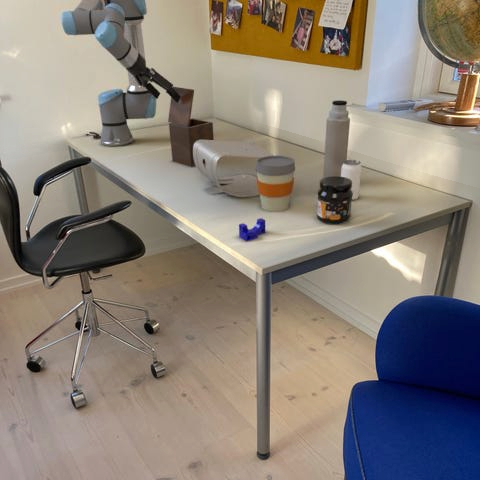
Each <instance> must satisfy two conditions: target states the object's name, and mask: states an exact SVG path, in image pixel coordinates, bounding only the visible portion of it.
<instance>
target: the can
mask: <svg viewBox="0 0 480 480" xmlns="http://www.w3.org/2000/svg"><path fill="white" fill-rule="evenodd" d="M361 175H362V165H361V161H359V160H356V159H347V160H346V161H344V162H343V165H342V168H341V177H345V178H348V179H350V180H351V181H352V188H351V190H352V191H353V196H352V201H355V200H357V199H358V198H359V195H360V187H361V177H362V176H361Z"/></svg>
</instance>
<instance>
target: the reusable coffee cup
mask: <svg viewBox="0 0 480 480" xmlns="http://www.w3.org/2000/svg"><path fill="white" fill-rule="evenodd" d="M295 163H296V162H295V159H294V158H292V157H290V156H285V155H279V156H276V155H275V156H266V157H262V158H257V160H256V163H255V165H256V166H255V172H256V174H257V175H256V177H257V185H258V192H259V194H260V195H259V198H260V206H261V208H262V209H263V210H265V211H268V212H282V211H286V210H287V209H288V208H289V206H290V200H291V194H292V193H293V189H294V182H295V178H294V173H295V171H296V164H295Z"/></svg>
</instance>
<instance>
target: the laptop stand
mask: <svg viewBox="0 0 480 480" xmlns="http://www.w3.org/2000/svg"><path fill="white" fill-rule="evenodd" d="M250 140H251V142H250V141H237V140H236V141H233V140H216V139H214V140H198V141H196V142H195V143H194V146H193V158H194V162H195V165H196V166H195V168H196V169H197V170H198V172H199V173H200V174H201V175H203V176H204V177H205V178H206V179H207V180H209V181H210V182H211V183H213V184H214V185H215V186H210V187H207V188H206V191H208V192H209V193H210V194H212V195H219V194H225V193H226V194H227V195H229V196H231V197H237V198H253V197H258V196H259V197H260V194H259V192H258V185H257V177H258V176H255V175H252V174H247V173H246V174H238V175H237V174H236V175H230V176H224V177H220V176H219V177H218V162H219V160H220V159H221V158H223V157H230V158H231V157H234V158H251V159H259V158H262V157H266V156H280V153H279V152H278V151H277V152H276V154H275V155H274V154H273V153H271V152H269V151H267V150H265V149H264V148H261V147H260V146H258V145H256V144H255V140H254V139H250ZM203 159H205V162H206V163H205V165H204V163H203Z"/></svg>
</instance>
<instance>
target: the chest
mask: <svg viewBox="0 0 480 480" xmlns="http://www.w3.org/2000/svg"><path fill="white" fill-rule="evenodd" d="M168 129H169V139H170V150H171V160H172V161H171V162H174V163H177V164H180V165H183V166H187V167H190V168H192V167H196V165H195V162H194V158H193V146H194V143H195V142H196V141H198V140H215V138H214V122H213V121H208V120H203V119H199V118H194V117H192V118H190V124H189V127H187V126H183V125H178V124H174V123H169V122H168ZM203 164H206V162H205V159H203Z"/></svg>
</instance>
